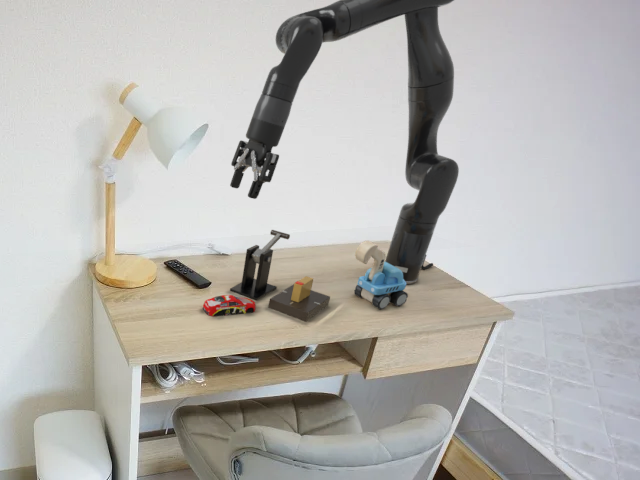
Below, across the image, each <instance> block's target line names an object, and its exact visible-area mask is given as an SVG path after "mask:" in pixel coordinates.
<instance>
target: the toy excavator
mask: <svg viewBox="0 0 640 480" xmlns="http://www.w3.org/2000/svg"><path fill="white" fill-rule="evenodd" d="M354 256H355V259H356V260H357V261H359V262H360V263H362V264H364V265H367V264H368V263H369V260H370V259H371V258H372V259H373V263H372V266H371V267H370V268H368V269H366V272H365V274H364V275H361V276H359V277H358V279H357V284H356V285H355V289H354V293H353V294H354V295H355V296H356V297H358V298H360V299H364V300H366V301H368V302H369V303H371V305H372V307H374V308H377V309H378V310H385V309H386V308H387V307H388V306H389V305H390V304H392V305H394V306H395V307H402V306H403V305H404V304H405V303H406V302H407V299H408V297H409V293H408V292H406V291H404V290H405V289H406V286H407V284H406V282H405V280H404V279H403V273H402V271H401V270H400V269H398V268H396V267H395V266H393V265H391V264H389V263H387V262H385V260H386V257H387V254H386V253H385V251H383V250H382V249H380V248H379V245H378V244H376V243H375V242H372V241H370V240H364V241H362V242H361V243H360V244H359V245H358V246H357V248H356V250H355V254H354Z"/></svg>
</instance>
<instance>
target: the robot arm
mask: <svg viewBox="0 0 640 480" xmlns="http://www.w3.org/2000/svg"><path fill="white" fill-rule="evenodd" d="M452 2H455V0H336V1H335V2H333V3H330V4H328V5H326V6H323V7H319V8H315V9H312V10H308V11H304V12H301V13H298V14H296V15H293V16H290V17H288V18H287V19H285V20H284V21H283V22H282V23H281V24H280V26H279V27H278V29H277V31H276V34H275V45H276V48H277V49H278V51H279V52H280V53H282V54H284V55H283V57H282V59H281V61H280V62H279V64H278V65H275V66H273V67H272V68H271V69H270V70H269V72H268V74H267V77H266V80H265V81H264V85H263V87H262V90H261V94H260V96H259V98H258V100H257V102H256V105H255V107H254V110H253V113H252V115H251V119H250V122H249V124H248V128H247V130H246V133H245V138H246V139H247V140H248V141H245V140H240V141H239V142H238V144H237V147H236V149H235V152H234V155H233V158H232V160H231V163H230V165H231V166H232V167H233V170H234V173H233V175H232V178H231V181H230V184H229V186H230V187H231V188H233V189H239V188H240V186H241V184H242V180H243V178H244V175H245V171H246V170H247V169H248V168H250V167H251V171H252V172H253V180H252V183H251V185H250V188H249V190H248V193H247V197H248V198H250V199H253V200H256V199H258V197H259V195H260V192H261V190H262V187H263V184H266V183H271V182H272V179H273V176H274V173H275V171H276V168H277V166H278V165H277V164H278V162H279V159H280V154H277V153H274V152H272V150H273V148H276V147H278V146H279V143H280V141H281V138H282V136H283V133H284V130H285V127H286V125H287V122H288V120H289V118H290V114H291V110H292V106H293V103H294V100H295V98H296V95H297V93H298V91H299V87H300V84H301V82H302V80H303V79H304V77H305V76H306V75H307V73H308V71H309V69H310V68H311V66H312V65H313V63H314V62H315V60H316V58H317V56H318V54H319V52H320V50H321V47H322V45H323V43H333V42H338V41H340V40H343V39H345V38H348V37H351V36H353V35H356V34H358V33H361V32H364V31H366V30H368V29H371V28H372V27H376V26H377V25H380V24H383V23H385V22H388V21H390V20H393V19H395V18H399V17H401V16H404V22H405V30H406V31H405V33H406V42H407V44H406V45H407V105H408V106H407V107H408V122H407V123H408V126H407V127H408V129H407V131H408V133H407V136H408V138H407V149H406V159H405V171H404V175H405V176H404V177H405V180H406V183H407V184H408V185H409V186H410V187H411V188H412V189H414V190H417V191H418V194H417V196H416V198H415V200H414V201H413V202H407V203H405V204H403V205H402V206H401V208H400V211H399V214H398V217H397V221H396V224H395V227H394V230H393V234H392V238H391V240H390V244H389V247H388V251H387V254H386V258H385V262H387V263H389V264H391V265H393V266H395V267H396V268H398V269H400V270H401V271H402V273H403V279H404V280H405V282H406V285H412V284H415V283H417V281H418V280H419V275H420V273H421V270H424V271H425V270H427V269H430V268H431V267H433V266H434V263H433V262H430V263H428V264H427V265H425V266H424V264H425V261H426V258H427V255H428V254H427V253H428V249H429V248H430V247H429V246H430V244H431V241H432V239H433V235H434V233H435V229H436V226H437V224H438V221H439V218H440V216H441V215H442V214H443V213H444V212H445V209H446V208H447V206H448V203H449V201H450V199H451V196H452V194H453V192H454V189H455V187H456V184H457V181H458V179H459V173H460V170H459V169H460V168H459V164H458V163H457V162H456V161H455V160H454V159H452V158H450V157H448V156H443V155H440V154H439V152H438V133H439V128H440V125H441V124H442V121H443V119H444V117H445V116H446V114H447V112H448V111H449V109H450V106H451V103H452V101H453V97H454V90H455V89H454V87H455V85H454V84H455V66H454V62H453V59H452V56H451V55H450V51H449V50H448V48H447V45H446V43H445V41H444V38H443V35H442V34H441V31H440V26H439V8H441V7H444V6H448V5H449V4H451V3H452ZM267 172H268V173H267Z"/></svg>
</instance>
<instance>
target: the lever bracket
mask: <svg viewBox="0 0 640 480" xmlns="http://www.w3.org/2000/svg"><path fill="white" fill-rule="evenodd" d="M258 248H259V249H260V245H258V244H255V245H253V246H251V247H248V248H247V249H246V253H245V258H244V259H245V260H244V265H243V272H242V279H241V282H240V283H238V284H236V285H234V286H232V287H231V288H229V291H230V292H232V293H235V294H237V295H240V296H242V297H244V298H248V299H251V300H253V301H254V302H255V301H256V302H257V301H258V300H261V299H262V298H263V297H265V296H267V295H269V294H271V293H272V292H274V291H275V290H277V286H276V285H273V284H271V283H268V281H269V275H270V270H271V264H272V259H273V252H274V249H272V248H270V249H269V250H267V251H265V252H263V253H261V255H260V261H259V264H258V267H257V263H255V262H252V254H253V253H254V252H255V251H256V250H257V249H258ZM256 270H257V272H256ZM256 273H257V274H256ZM255 275H256V278H255Z"/></svg>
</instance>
